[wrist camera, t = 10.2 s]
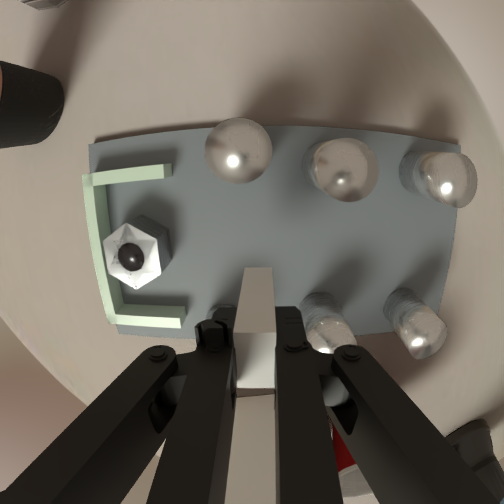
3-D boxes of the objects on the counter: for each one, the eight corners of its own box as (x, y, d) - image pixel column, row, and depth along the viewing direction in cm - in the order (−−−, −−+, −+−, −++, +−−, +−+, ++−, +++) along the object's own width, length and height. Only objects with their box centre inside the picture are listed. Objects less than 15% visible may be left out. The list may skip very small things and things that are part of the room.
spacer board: (430, 322, 26) (433, 326, 25) (121, 329, 27) (118, 333, 26) (455, 145, 20) (460, 145, 19) (93, 144, 21) (88, 144, 20)
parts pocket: (186, 316, 25) (181, 328, 23) (117, 312, 25) (108, 323, 23) (171, 163, 21) (163, 164, 19) (94, 172, 21) (82, 174, 19)
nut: (174, 274, 24) (163, 290, 21) (126, 273, 24) (111, 288, 21) (167, 212, 22) (154, 221, 19) (117, 215, 22) (100, 224, 19)
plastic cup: (290, 410, 30) (299, 499, 18) (358, 349, 27) (397, 442, 15) (351, 432, 31) (370, 505, 20) (413, 382, 28) (451, 454, 17)
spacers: (409, 328, 25) (436, 364, 19) (207, 337, 25) (195, 382, 20) (434, 142, 19) (478, 142, 14) (192, 131, 20) (167, 123, 14)
